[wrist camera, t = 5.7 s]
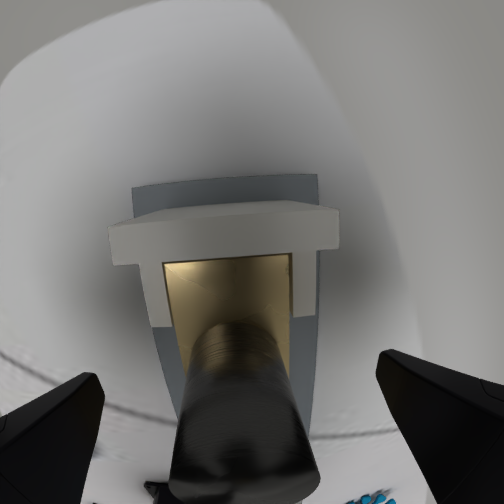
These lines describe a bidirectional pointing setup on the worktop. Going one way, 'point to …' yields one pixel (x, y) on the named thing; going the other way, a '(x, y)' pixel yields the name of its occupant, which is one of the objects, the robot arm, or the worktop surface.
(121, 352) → the worktop surface
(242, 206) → the socket
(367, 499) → the gear
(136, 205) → the board
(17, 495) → the robot arm
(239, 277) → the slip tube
